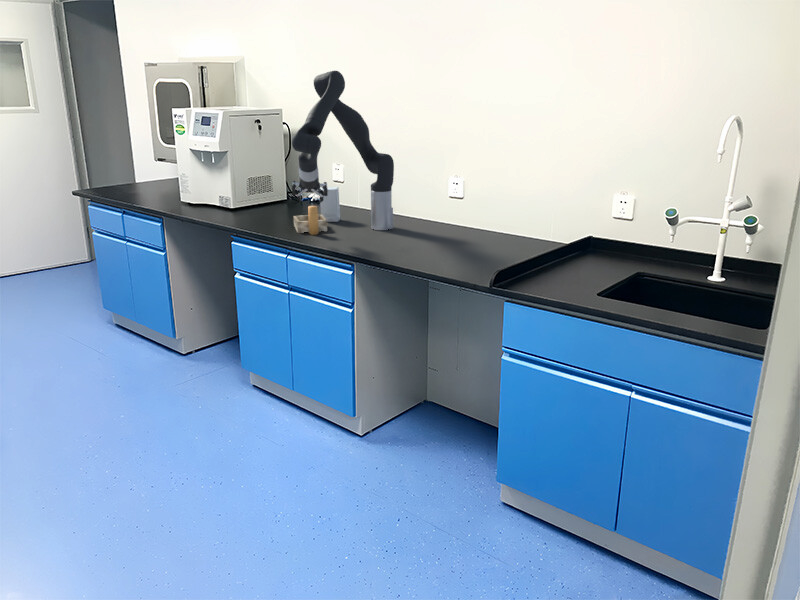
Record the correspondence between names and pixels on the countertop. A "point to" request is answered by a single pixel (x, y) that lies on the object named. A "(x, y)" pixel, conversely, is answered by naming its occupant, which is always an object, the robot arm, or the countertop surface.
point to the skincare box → (331, 205)
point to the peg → (313, 220)
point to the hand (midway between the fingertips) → (310, 200)
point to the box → (303, 223)
